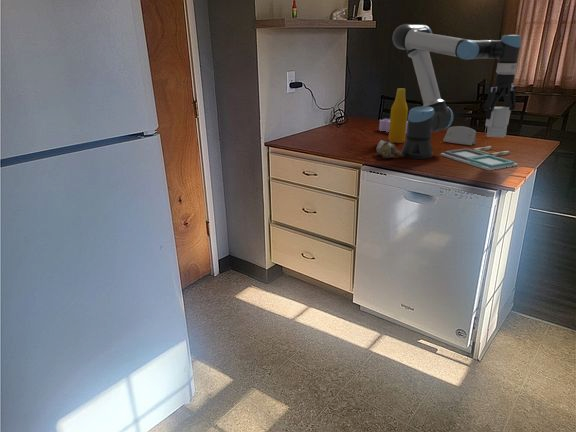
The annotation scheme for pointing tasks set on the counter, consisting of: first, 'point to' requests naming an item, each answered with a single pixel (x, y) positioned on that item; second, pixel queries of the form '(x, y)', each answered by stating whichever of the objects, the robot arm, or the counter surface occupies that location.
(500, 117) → the supplement box
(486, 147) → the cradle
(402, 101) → the beer bottle
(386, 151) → the ceramic sculpture
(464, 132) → the gray curved slotted casing
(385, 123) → the clip
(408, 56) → the robot arm
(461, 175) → the counter surface
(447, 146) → the counter surface
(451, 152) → the pocket plate
